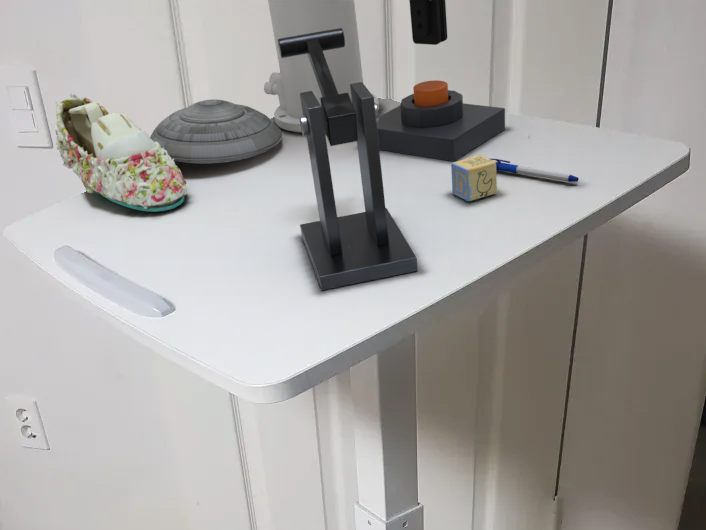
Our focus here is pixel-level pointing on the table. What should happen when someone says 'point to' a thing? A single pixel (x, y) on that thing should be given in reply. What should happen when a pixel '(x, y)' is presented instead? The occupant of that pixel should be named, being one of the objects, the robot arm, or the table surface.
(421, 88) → the button
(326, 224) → the bracket
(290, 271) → the table surface
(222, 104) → the flying saucer
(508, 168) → the ballpoint pen
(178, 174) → the ballet flat
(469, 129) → the control block
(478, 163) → the alphabet block
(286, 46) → the lever
